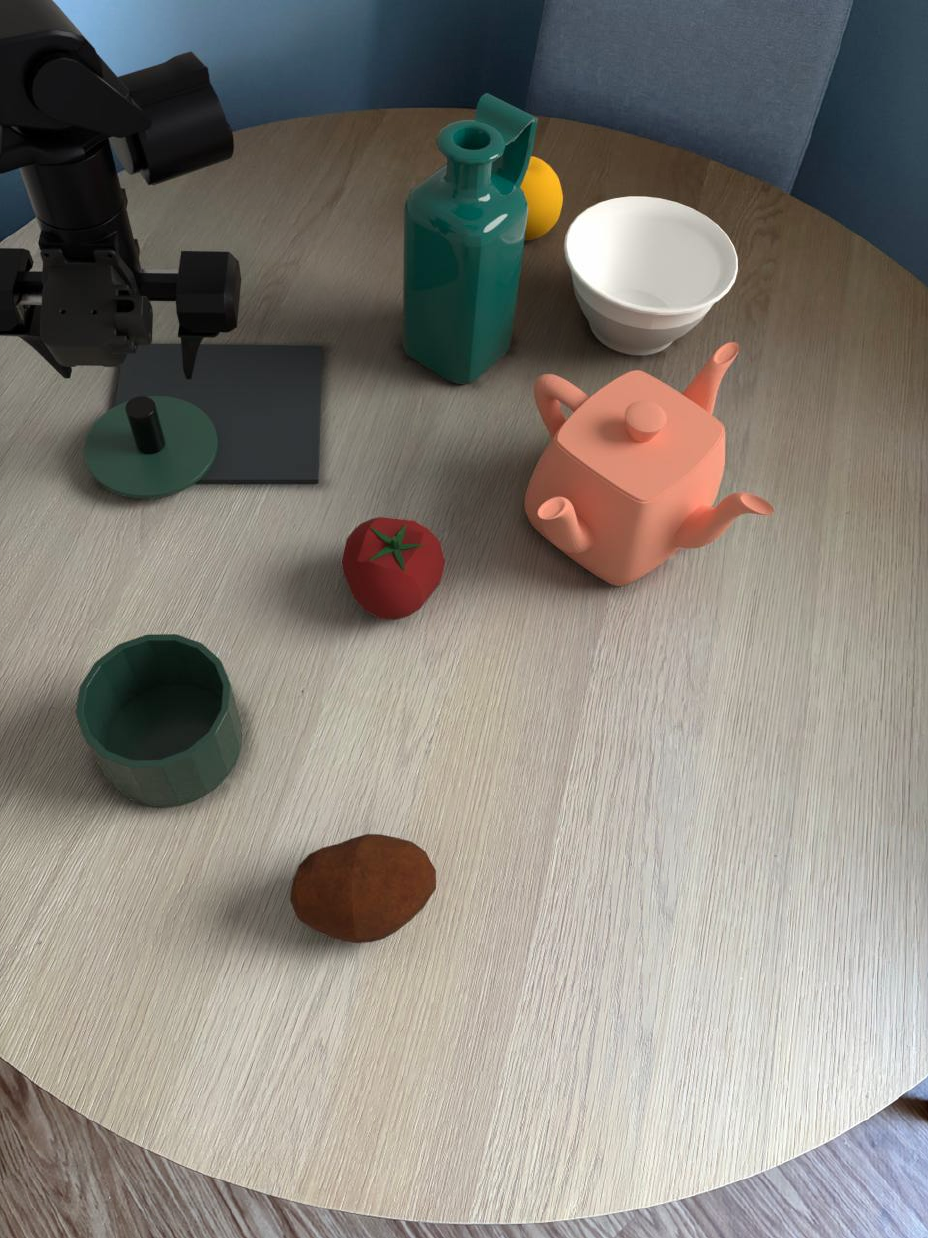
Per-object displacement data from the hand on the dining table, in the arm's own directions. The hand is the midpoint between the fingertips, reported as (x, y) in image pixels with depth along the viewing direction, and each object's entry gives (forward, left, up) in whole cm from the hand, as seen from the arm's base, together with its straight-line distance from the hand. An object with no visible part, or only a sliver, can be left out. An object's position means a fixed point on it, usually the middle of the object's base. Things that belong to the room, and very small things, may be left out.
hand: (129, 375), depth 82 cm
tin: (+4, -27, -10) cm, 29 cm away
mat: (+5, +5, -10) cm, 12 cm away
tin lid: (0, 0, -9) cm, 9 cm away
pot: (+40, -7, -10) cm, 42 cm away
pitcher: (+27, +14, -10) cm, 32 cm away
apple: (+34, +31, -10) cm, 47 cm away
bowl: (+44, +17, -10) cm, 48 cm away
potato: (+18, -39, -10) cm, 44 cm away
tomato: (+20, -14, -10) cm, 26 cm away
